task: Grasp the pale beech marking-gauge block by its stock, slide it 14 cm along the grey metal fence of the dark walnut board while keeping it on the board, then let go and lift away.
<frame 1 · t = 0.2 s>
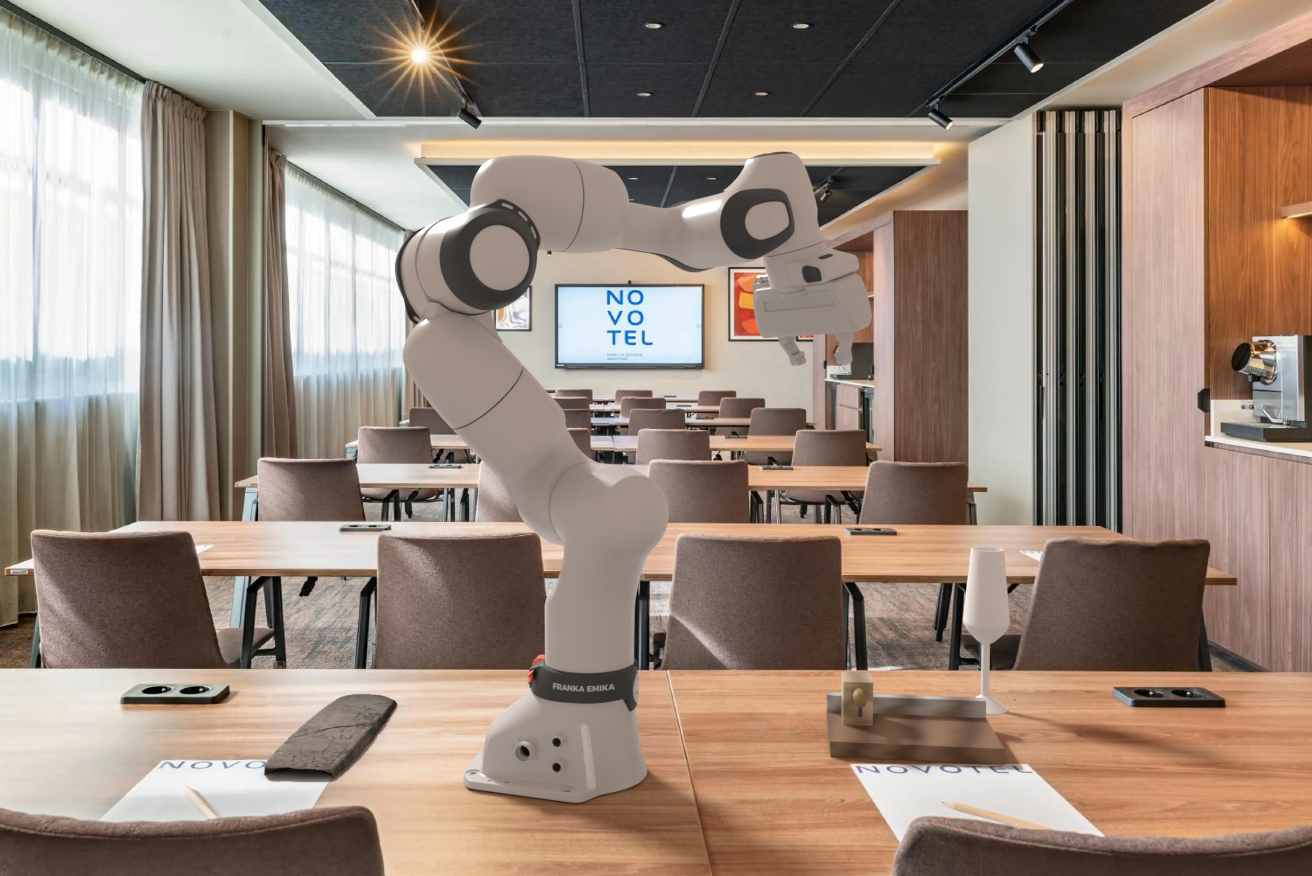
hand: (821, 364, 147), 51 cm above the table, tool tilted 20°, fingers open, 8 cm apart
marking gauge: (856, 719, 144), point 2 cm above the table, touching walnut board
stone slab: (337, 742, 143), on the table
champagne flute: (984, 708, 156), on the table
walnut board: (909, 741, 141), on the table
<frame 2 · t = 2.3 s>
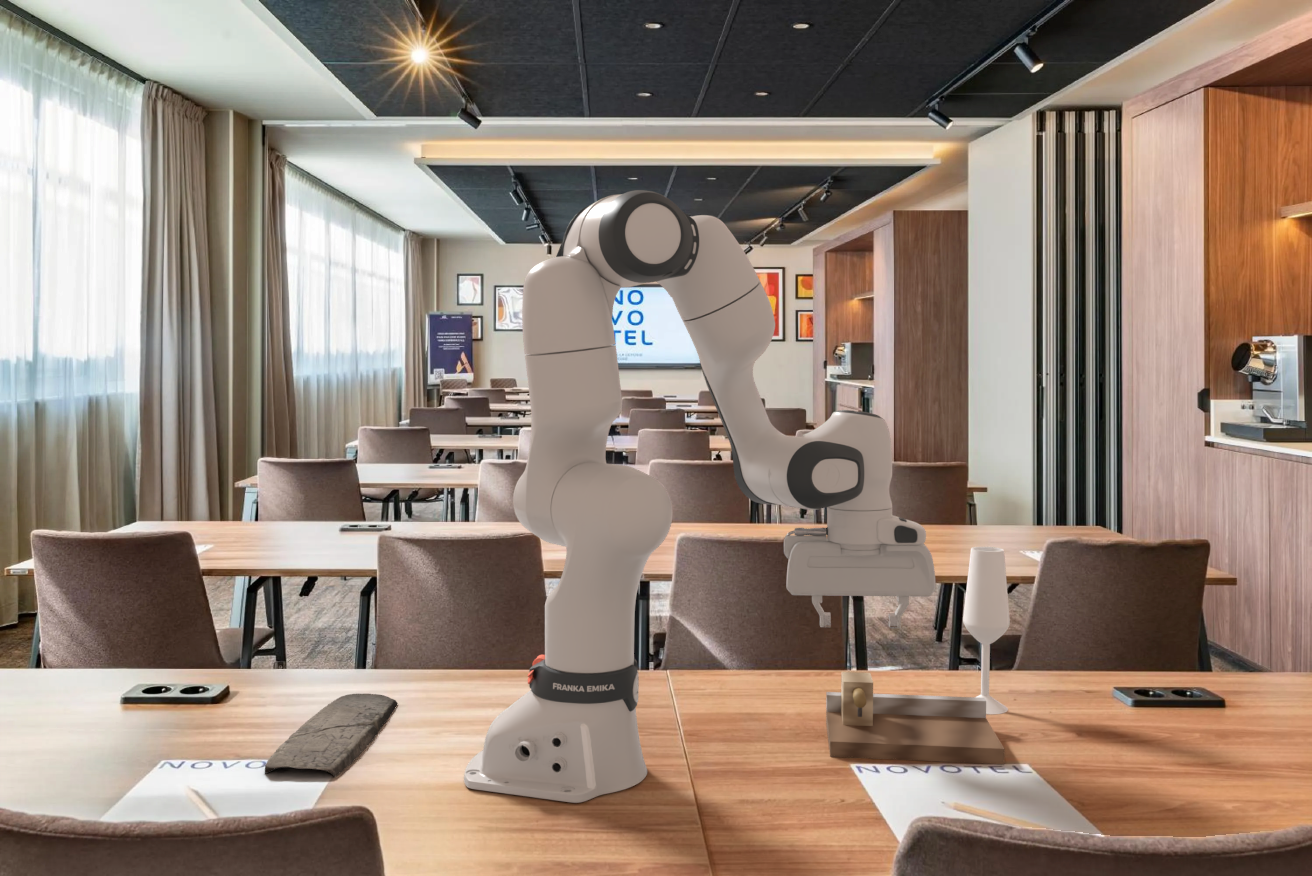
hand: (859, 627, 144), 15 cm above the table, tool pointing down, fingers open, 8 cm apart
nothing on the table moved.
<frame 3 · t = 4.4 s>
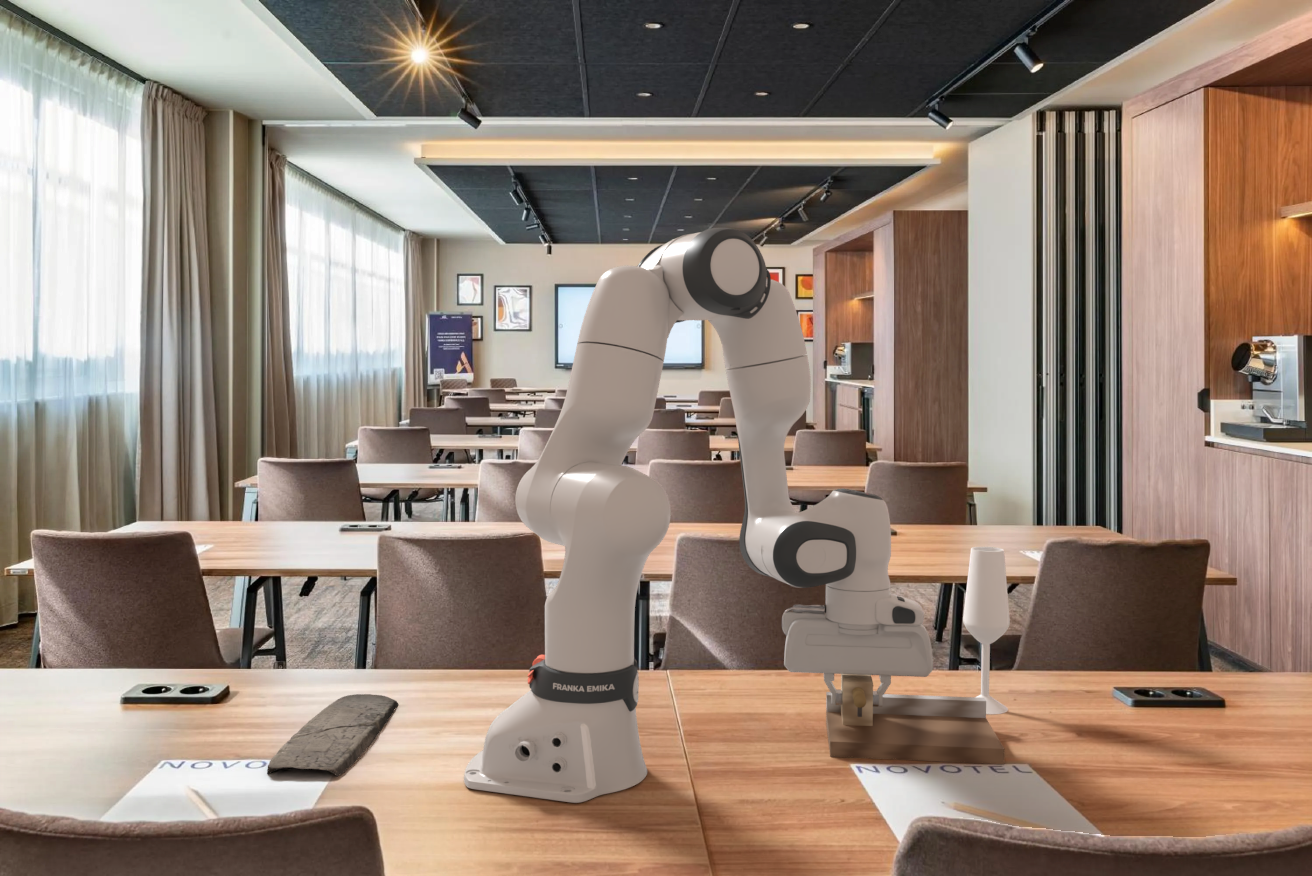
hand: (856, 704, 144), 4 cm above the table, tool pointing down, fingers closed on marking gauge, 4 cm apart
marking gauge: (856, 719, 144), point 2 cm above the table, touching gripper, walnut board
everything else where it was.
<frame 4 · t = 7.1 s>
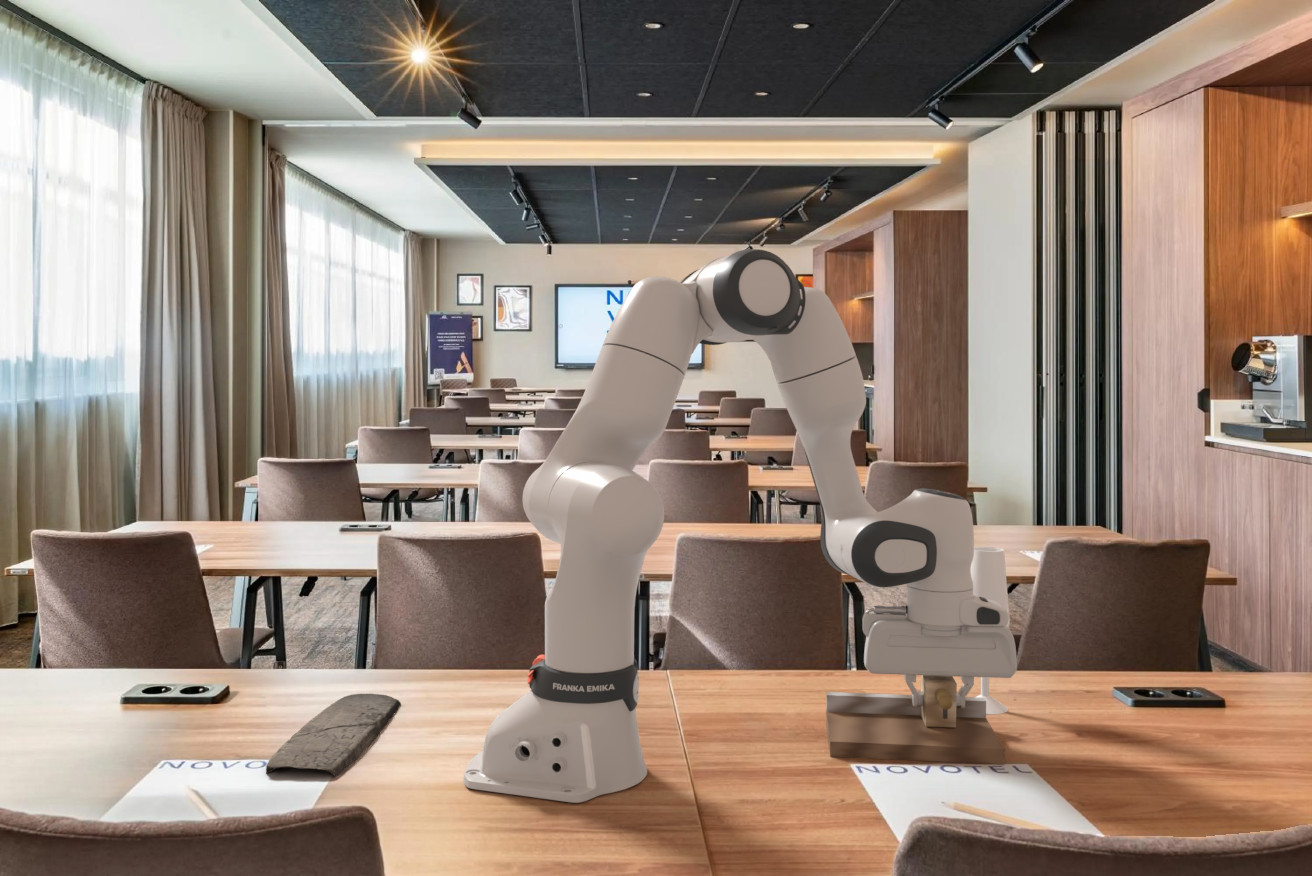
hand: (938, 706, 143), 4 cm above the table, tool pointing down, fingers closed on marking gauge, 4 cm apart
marking gauge: (937, 720, 143), point 2 cm above the table, touching gripper
everything else where it was.
when the fingers open (4 cm above the table, at t = 9.1 s): marking gauge stays where it is, resting on walnut board.
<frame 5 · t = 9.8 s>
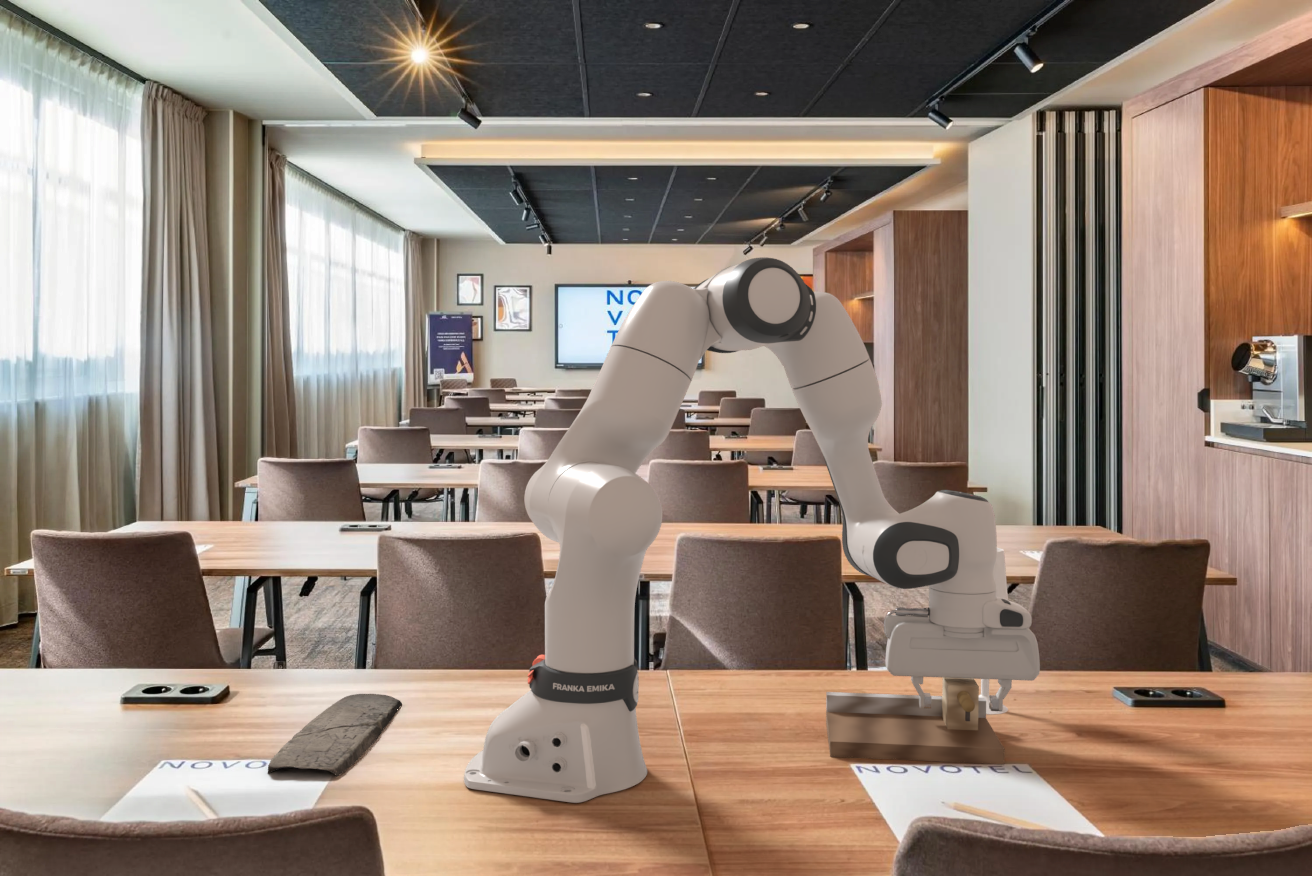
hand: (960, 708, 142), 4 cm above the table, tool pointing down, fingers open, 8 cm apart
marking gauge: (959, 723, 142), point 2 cm above the table, touching walnut board
everything else where it was.
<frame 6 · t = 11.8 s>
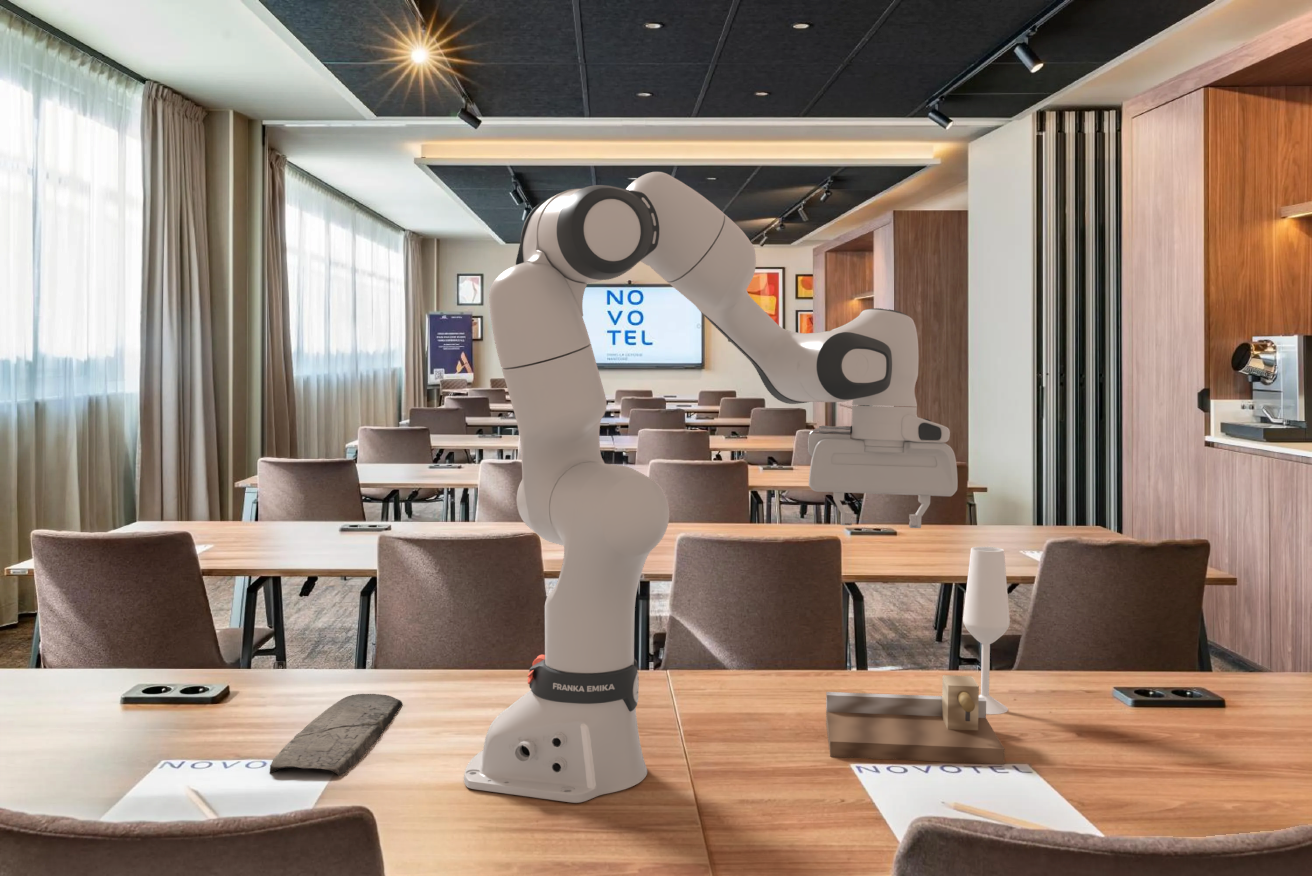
hand: (880, 526, 145), 29 cm above the table, tool pointing down, fingers open, 8 cm apart
nothing on the table moved.
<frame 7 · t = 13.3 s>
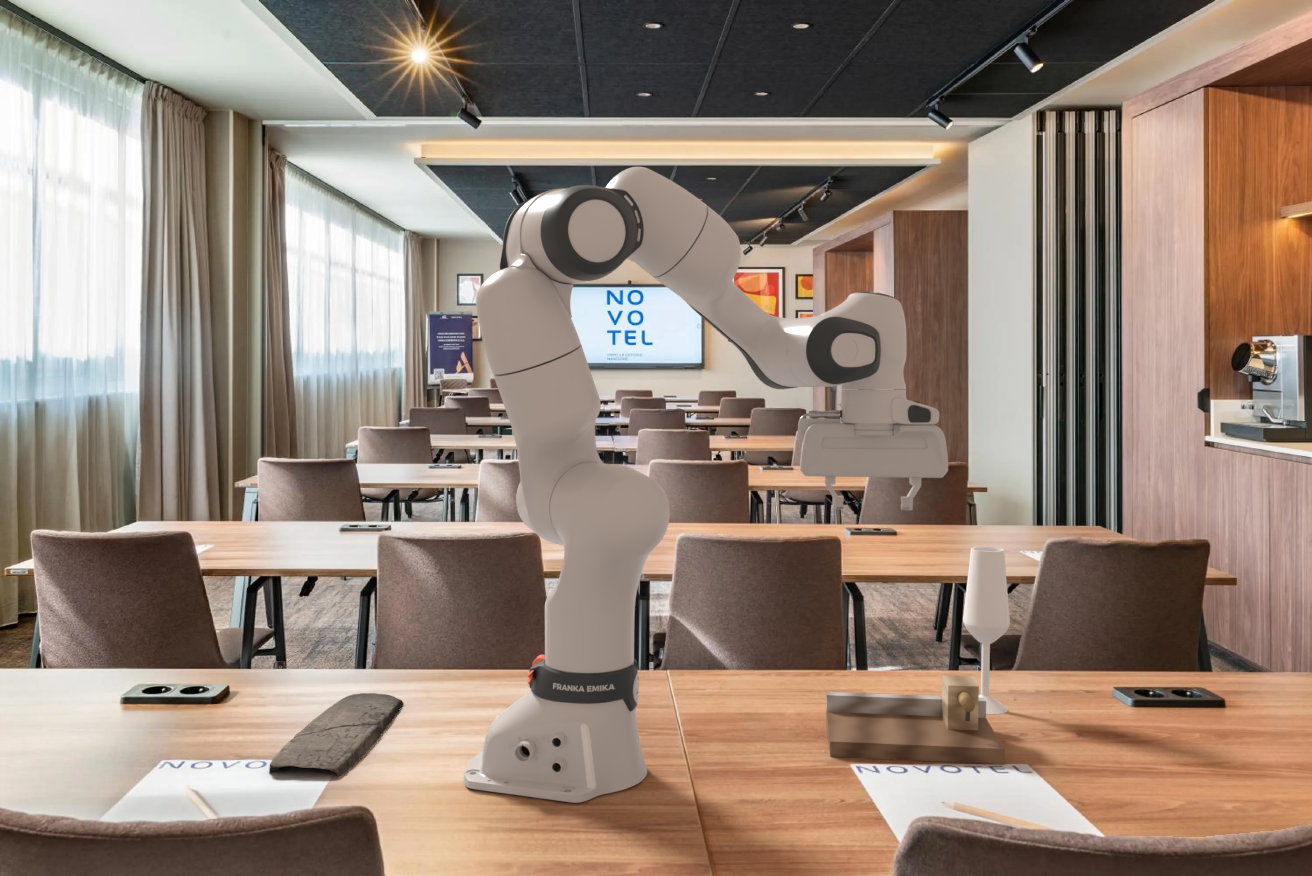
hand: (872, 509, 145), 31 cm above the table, tool pointing down, fingers open, 8 cm apart
nothing on the table moved.
at the end: marking gauge 0.1 cm from the target spot, point 2.0 cm above the table; marking gauge tilted 0°; the gripper is holding nothing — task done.
